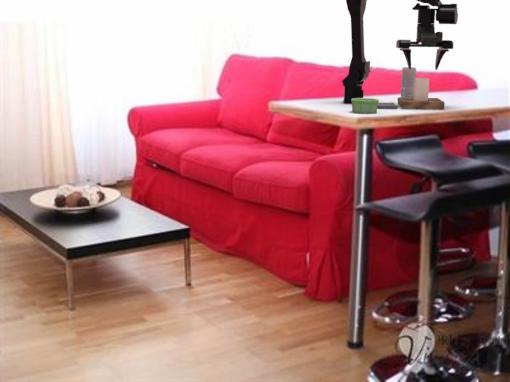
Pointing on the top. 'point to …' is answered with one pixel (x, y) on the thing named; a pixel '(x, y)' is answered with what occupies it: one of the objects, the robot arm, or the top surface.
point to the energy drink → (408, 82)
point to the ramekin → (364, 105)
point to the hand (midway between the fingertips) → (423, 69)
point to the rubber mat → (386, 106)
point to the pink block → (421, 89)
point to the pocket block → (421, 103)
